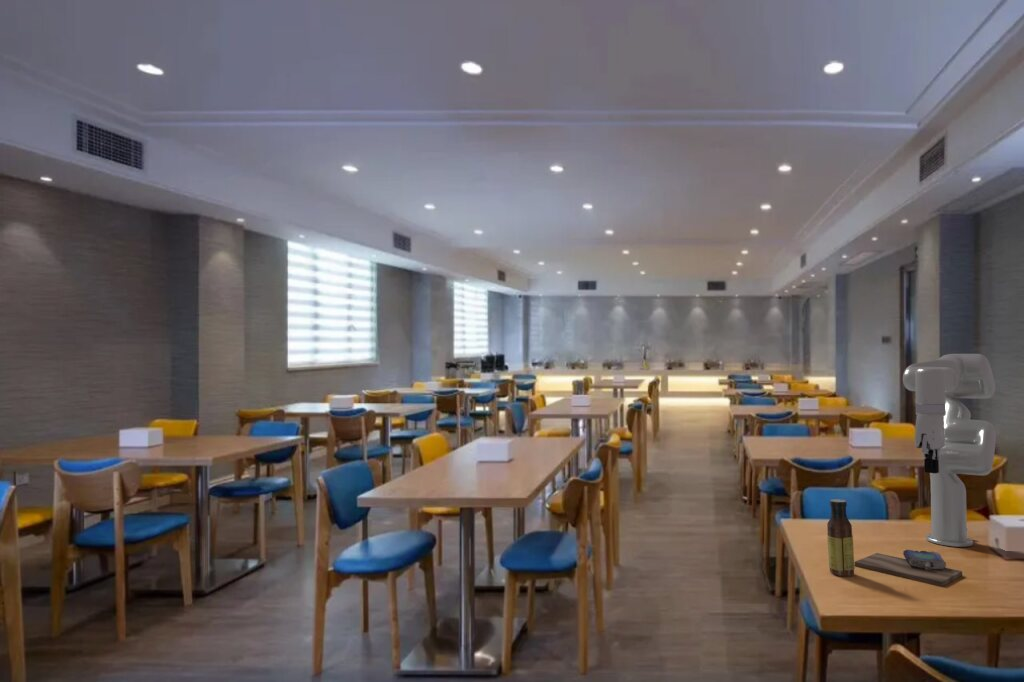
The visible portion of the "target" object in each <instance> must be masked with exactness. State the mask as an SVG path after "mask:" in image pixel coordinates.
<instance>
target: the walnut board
mask: <svg viewBox="0 0 1024 682" xmlns="http://www.w3.org/2000/svg"><path fill="white" fill-rule="evenodd" d="M854 567H858V568H861V569H864V570H865V569H866V570H871V571H874V572H879V573H883V574H886V575H887V574H888V575H892V576H896V577H899V578H904V579H908V580H912V581H913V580H914V581H917V582H921V583H925V584H929V585H934V586H938V587H944V586H946V585H948V584H949V583H951V582H953V581H955V580H957V579H959V578H961V577H962V576H963V571H962V570H959V569H958V570H957V569H954V568H949V567H945V568H944V569H931V570H926V569H922V568H918V567H914V566H911V565H909V564H908V562H907V560H906V558H902V557H899V556H898V557H897V556H893V555H889V554H883V553H879V552H876V553H873V554H870V555H868V556H866V557H863V558H861V559H858V560H854Z"/></svg>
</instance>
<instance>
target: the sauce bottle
mask: <svg viewBox="0 0 1024 682" xmlns="http://www.w3.org/2000/svg"><path fill="white" fill-rule="evenodd" d="M829 505H830V518H829V519H828V521H827V524H826V525H827V549H828V550H827V551H828V552H827V553H828V565H829V572H830V573H831V574H833V575H835V576H838V577H846V578H847V577H853V576H854V575H855V567H856V566H855V551H854V549H855V548H854V537H853V536H854V535H853V528H852V527H853V526H852V524H851V521H850V520H849V518H848V517H847V516H848V515H847V506H848V503H847V500H845V499H838V498H837V499H834V498H833V499H830V500H829Z"/></svg>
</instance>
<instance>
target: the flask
mask: <svg viewBox="0 0 1024 682" xmlns="http://www.w3.org/2000/svg"><path fill="white" fill-rule="evenodd" d="M903 557H904V559H906V560H907V562H908V564H909V565H911V566H914V567H918V568H922V569H926V570H931V569H944V568H947V562H946V561H945V560H944V558H943V557H942V556H941V554H940V553H939V552H935V551H927V550H926V551H925V550H919V551H918V550H913V549H905V550H904V551H903Z"/></svg>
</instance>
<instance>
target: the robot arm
mask: <svg viewBox="0 0 1024 682" xmlns="http://www.w3.org/2000/svg"><path fill="white" fill-rule="evenodd" d="M902 382H903V386H904V388H905V389H907V390H908V391H910V392H915V415H916V420H915V426H914V427H915V429H914V430H915V431H914V447H915V448H917V449H921V454H922V455H923V461H924V466H923V467H924V472H925V473H928V474H929V478H930V513H931V514H930V519H931V520H930V521H931V523H930V524H931V526H930V527H931V530H930V531H931V533H927V534H926V535H925V540H927V541H928V542H930V543H933V544H937V545H942V546H948V547H954V548H955V547H957V548H966V547H967V548H968V547H972V546H973V545H974V541H973V540H972V539H970V538H969V537H968V527H967V521H968V520H967V489H966V485H965V483H964V482H963V481H962V480H961V478H960V477H959V475H972V476H987V475H989V474H991V472H992V470H993V467H994V460H995V449H996V442H997V441H996V440H997V438H996V437H997V433H996V429H995V427H994V425H993V424H992V423H991V422H989V421H987V420H980V419H971V417H972V414H971V411H970V410H969V409H968V407H967V406H966V405H965V404H963V402H962V401H960V400H958V399H978V400H979V399H980V400H986V399H990V398H992V397H993V396H994V394H995V392H996V382H995V378H994V374H993V370H992V367H991V364H990V362H989V360H988V358H987V357H986V356H985V355H983V354H981V353H948V354H944V355H942V356H941V357H939V358H937V359H934V360H932V359H931V360H929V361H923V362H918V363H917V362H916V363H913V364H910V365H909V366H907V367H906V368H905V370H904V371H903V375H902Z"/></svg>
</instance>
